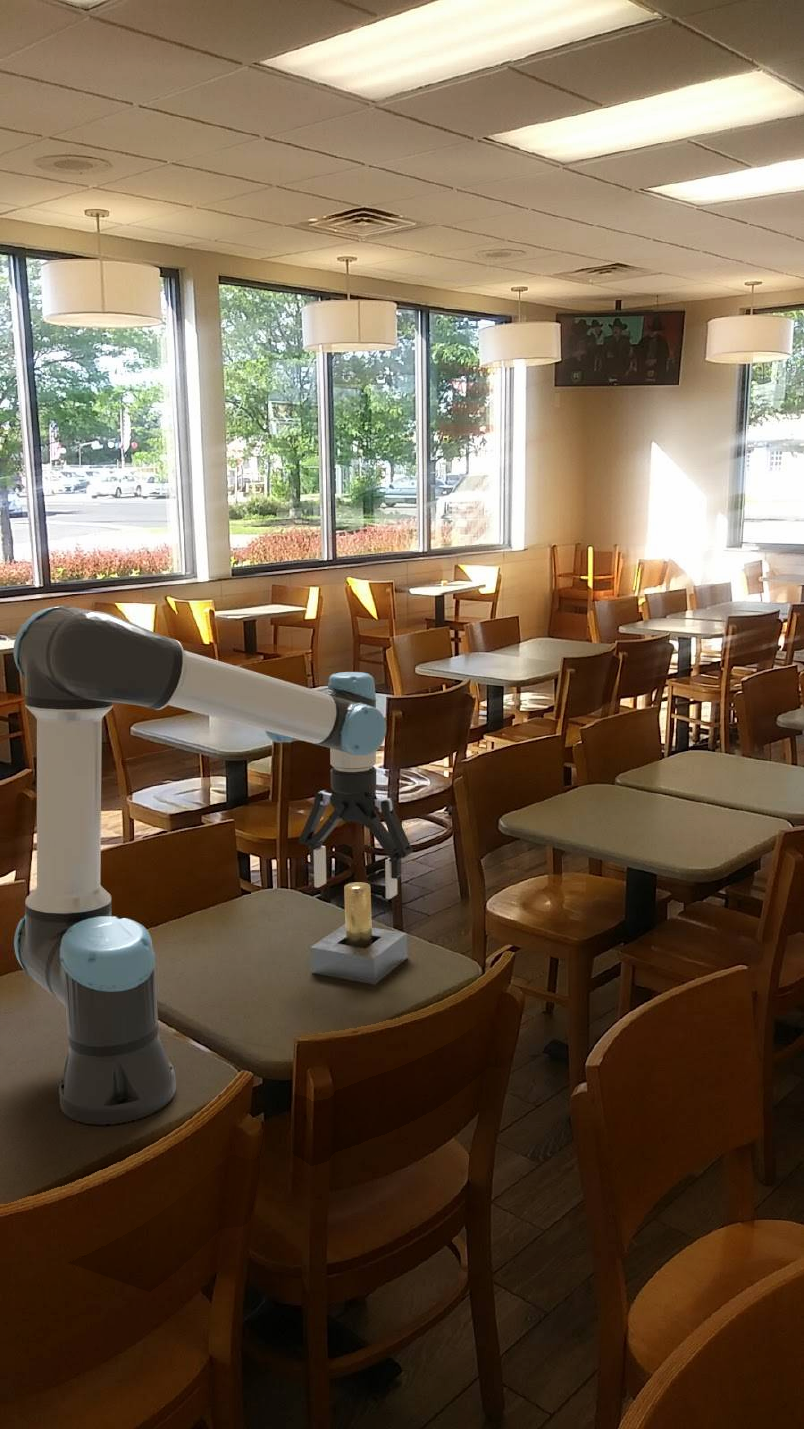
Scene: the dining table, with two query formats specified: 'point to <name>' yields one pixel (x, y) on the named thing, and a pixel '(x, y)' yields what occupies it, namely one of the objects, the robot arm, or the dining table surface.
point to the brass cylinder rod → (358, 914)
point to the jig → (359, 956)
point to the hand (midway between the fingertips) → (355, 890)
